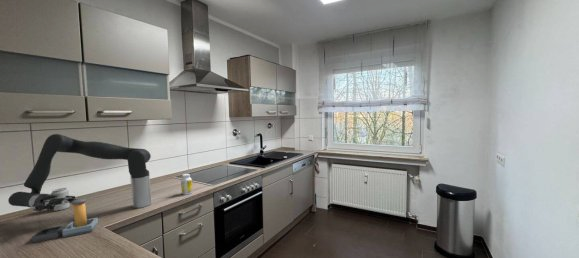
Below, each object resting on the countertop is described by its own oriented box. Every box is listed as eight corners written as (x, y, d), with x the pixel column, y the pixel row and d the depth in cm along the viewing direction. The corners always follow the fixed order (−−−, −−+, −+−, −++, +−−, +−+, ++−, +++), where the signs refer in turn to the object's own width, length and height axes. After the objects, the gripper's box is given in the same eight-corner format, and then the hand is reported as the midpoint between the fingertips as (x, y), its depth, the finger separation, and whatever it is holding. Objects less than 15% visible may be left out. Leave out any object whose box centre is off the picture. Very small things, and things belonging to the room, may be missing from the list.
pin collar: (41, 234, 107) (41, 229, 107) (65, 230, 111) (65, 224, 111) (32, 242, 100) (31, 237, 100) (58, 237, 103) (57, 232, 103)
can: (49, 210, 138) (47, 190, 138) (65, 206, 145) (63, 186, 145) (57, 212, 135) (55, 191, 135) (72, 207, 143) (71, 187, 142)
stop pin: (76, 227, 111) (73, 199, 111) (90, 224, 114) (87, 197, 113) (71, 231, 107) (69, 203, 106) (86, 228, 109) (84, 201, 108)
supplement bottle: (193, 191, 164) (192, 173, 164) (191, 194, 158) (190, 175, 157) (183, 192, 163) (182, 173, 163) (180, 195, 157) (179, 176, 156)
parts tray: (71, 228, 112) (71, 222, 112) (98, 223, 117) (97, 217, 117) (63, 237, 103) (62, 230, 103) (91, 231, 108) (91, 225, 108)
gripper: (23, 198, 111) (44, 201, 106) (60, 189, 125) (81, 191, 120) (24, 214, 112) (45, 217, 106) (61, 203, 125) (82, 206, 120)
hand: (64, 204), depth 113 cm, fingers open, 8 cm apart
